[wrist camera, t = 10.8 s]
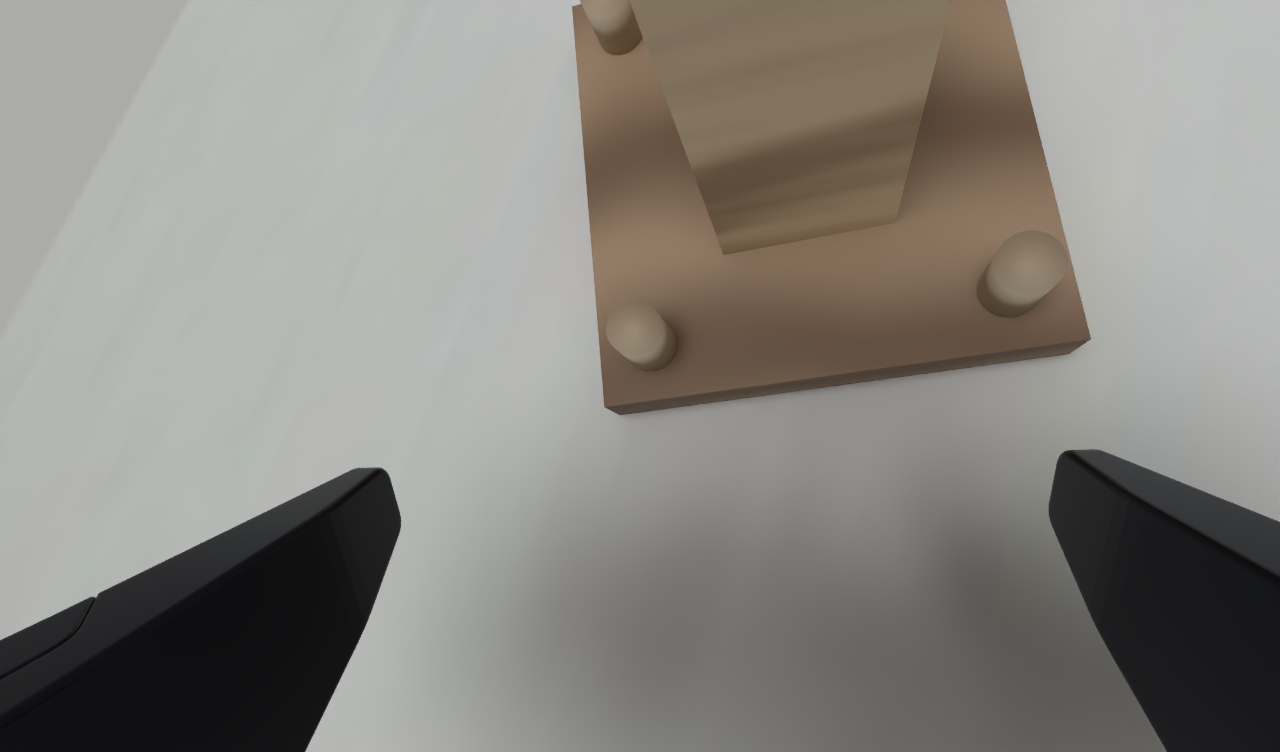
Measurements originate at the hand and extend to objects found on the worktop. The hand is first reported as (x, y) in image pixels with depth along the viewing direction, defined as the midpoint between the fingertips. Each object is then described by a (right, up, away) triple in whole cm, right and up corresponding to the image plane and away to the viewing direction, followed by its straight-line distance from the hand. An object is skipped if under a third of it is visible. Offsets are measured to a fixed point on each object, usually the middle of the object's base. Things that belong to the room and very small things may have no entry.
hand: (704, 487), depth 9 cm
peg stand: (+4, +8, +11) cm, 14 cm away
